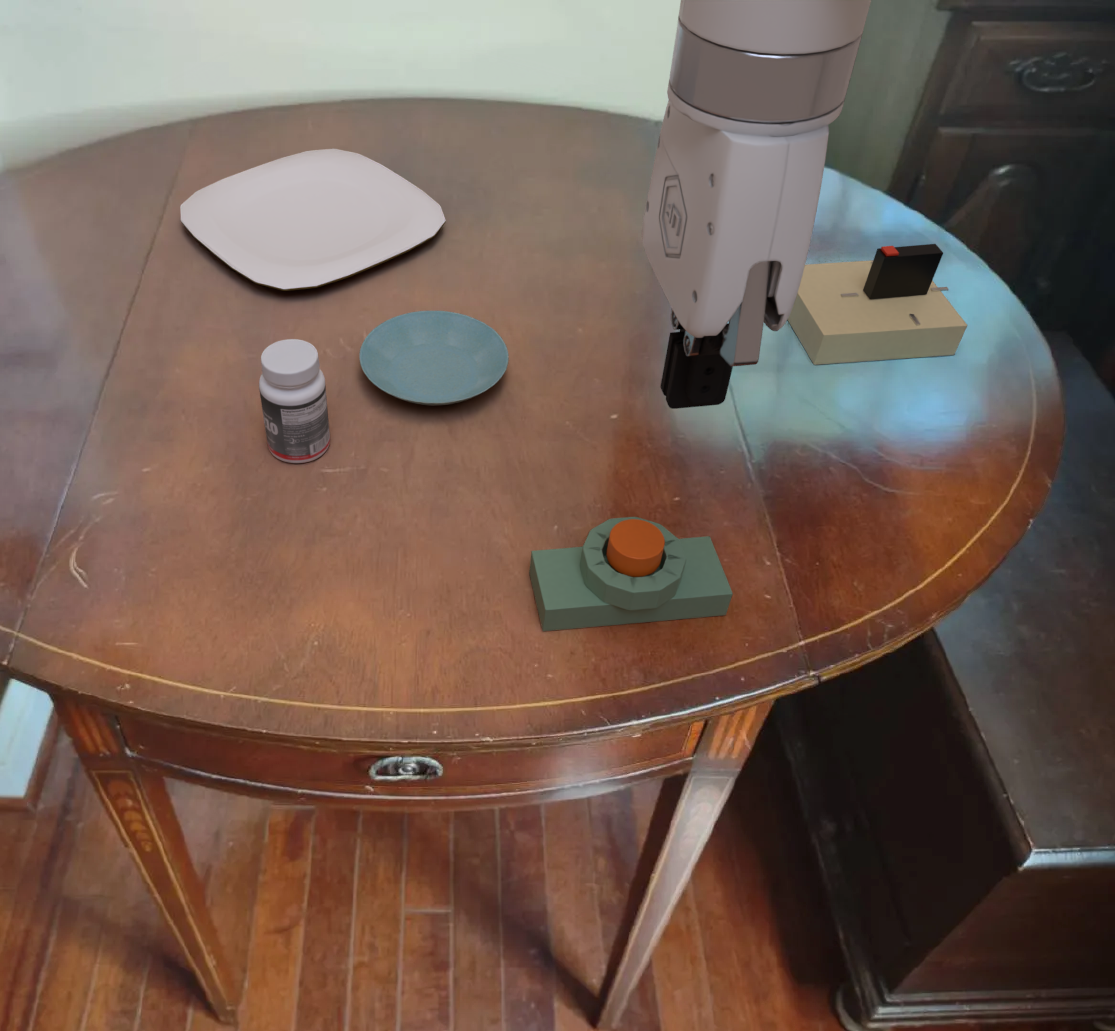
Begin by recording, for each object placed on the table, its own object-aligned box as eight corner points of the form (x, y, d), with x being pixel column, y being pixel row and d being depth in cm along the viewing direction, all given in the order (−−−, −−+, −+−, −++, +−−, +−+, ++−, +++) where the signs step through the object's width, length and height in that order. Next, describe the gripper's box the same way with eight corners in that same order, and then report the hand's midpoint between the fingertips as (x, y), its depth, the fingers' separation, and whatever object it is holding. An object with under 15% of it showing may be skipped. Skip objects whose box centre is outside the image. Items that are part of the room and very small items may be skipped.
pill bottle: (263, 429, 80) (250, 340, 74) (324, 418, 81) (316, 330, 75) (272, 470, 77) (259, 381, 71) (336, 459, 78) (328, 370, 72)
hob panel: (910, 286, 93) (922, 255, 91) (961, 354, 86) (975, 323, 84) (772, 295, 92) (781, 264, 90) (813, 365, 86) (824, 333, 83)
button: (652, 535, 68) (657, 516, 66) (666, 575, 65) (671, 556, 64) (601, 539, 67) (604, 520, 66) (613, 579, 65) (616, 561, 64)
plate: (157, 217, 102) (153, 201, 101) (339, 150, 111) (338, 135, 110) (279, 320, 90) (277, 303, 89) (472, 235, 99) (472, 219, 98)
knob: (919, 285, 88) (936, 240, 85) (926, 294, 87) (944, 250, 84) (862, 290, 88) (878, 245, 85) (869, 299, 87) (885, 255, 84)
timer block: (701, 550, 71) (712, 509, 69) (729, 623, 67) (742, 582, 64) (527, 565, 71) (531, 524, 68) (544, 639, 66) (549, 599, 63)
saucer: (533, 363, 86) (535, 341, 84) (455, 444, 79) (455, 421, 77) (415, 316, 90) (414, 294, 89) (331, 388, 84) (329, 366, 82)
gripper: (631, 6, 50) (594, 325, 63) (730, 152, 40) (662, 498, 53) (783, -4, 51) (715, 315, 64) (921, 138, 40) (806, 484, 53)
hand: (691, 397), depth 58 cm, fingers closed
